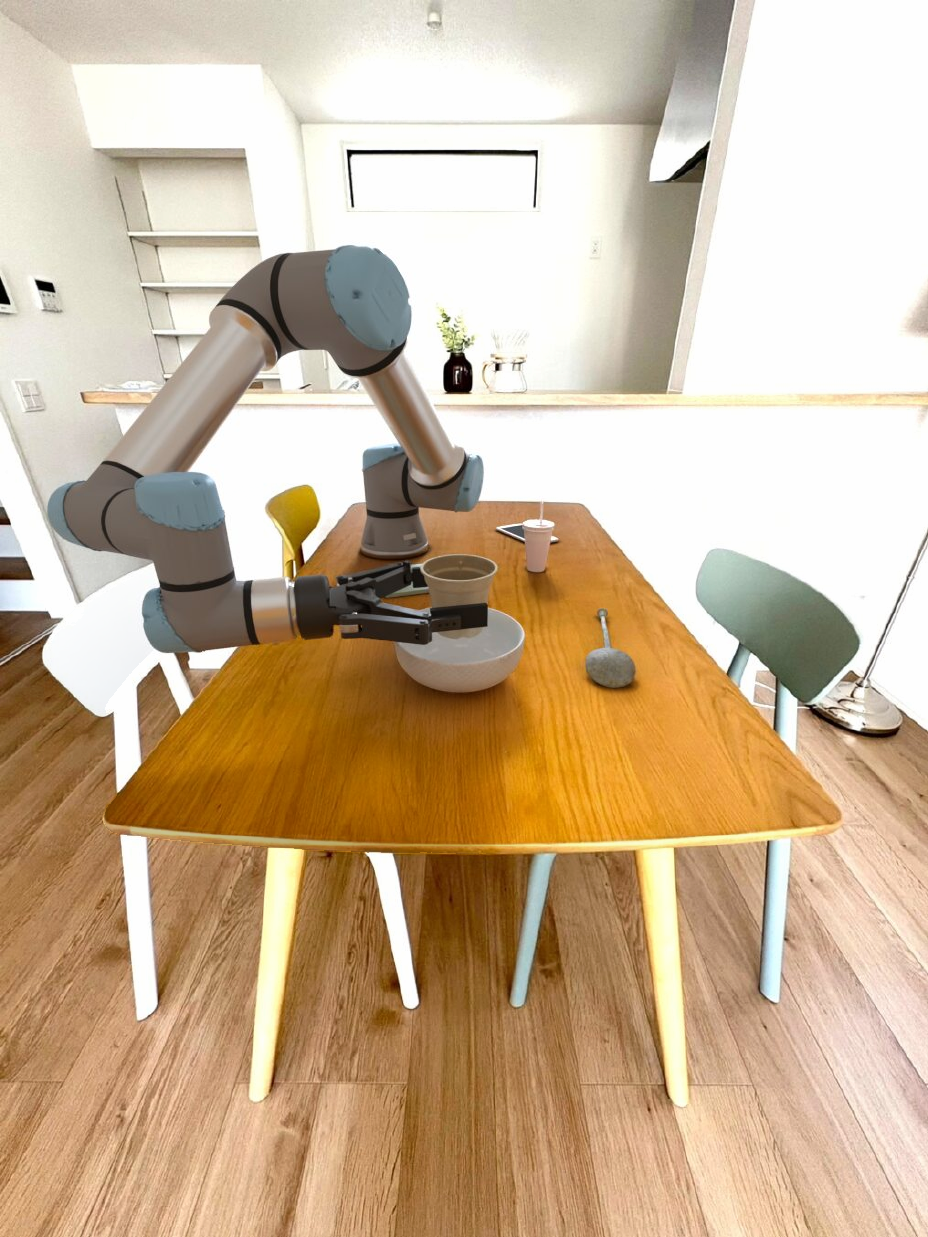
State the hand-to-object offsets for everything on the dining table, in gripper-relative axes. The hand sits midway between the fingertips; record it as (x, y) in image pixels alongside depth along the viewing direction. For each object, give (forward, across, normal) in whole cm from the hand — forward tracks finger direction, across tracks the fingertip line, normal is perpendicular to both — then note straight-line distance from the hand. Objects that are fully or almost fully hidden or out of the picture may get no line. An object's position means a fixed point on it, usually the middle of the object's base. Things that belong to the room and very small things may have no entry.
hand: (472, 592), depth 66 cm
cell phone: (+29, -60, -12) cm, 68 cm away
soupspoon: (+21, -2, -12) cm, 25 cm away
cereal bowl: (-2, 0, -12) cm, 12 cm away
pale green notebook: (-2, -37, -12) cm, 39 cm away
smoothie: (+23, -37, -12) cm, 45 cm away
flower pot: (-2, 0, -5) cm, 6 cm away
